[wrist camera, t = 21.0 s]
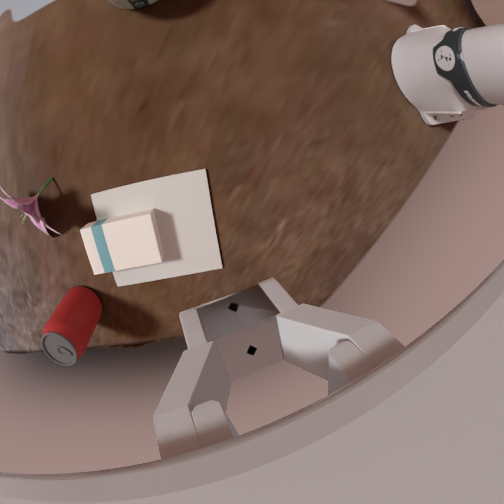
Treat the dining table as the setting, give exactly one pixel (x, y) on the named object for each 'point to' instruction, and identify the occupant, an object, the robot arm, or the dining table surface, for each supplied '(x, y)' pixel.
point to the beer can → (71, 326)
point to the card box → (123, 242)
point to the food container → (131, 3)
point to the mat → (168, 224)
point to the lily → (29, 208)
